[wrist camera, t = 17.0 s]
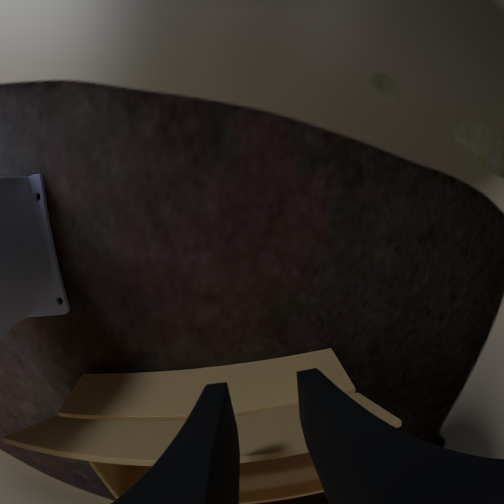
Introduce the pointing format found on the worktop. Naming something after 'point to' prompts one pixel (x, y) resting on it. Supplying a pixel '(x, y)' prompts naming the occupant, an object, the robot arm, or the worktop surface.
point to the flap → (168, 436)
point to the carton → (183, 401)
